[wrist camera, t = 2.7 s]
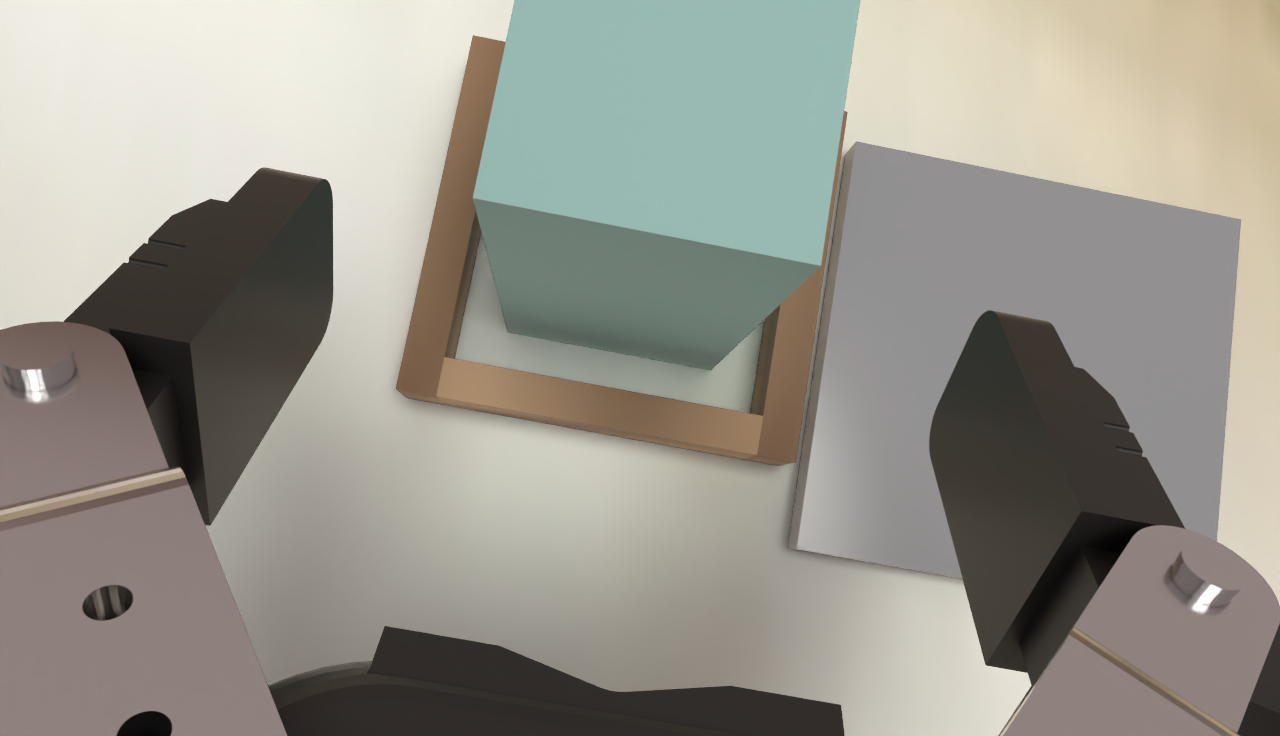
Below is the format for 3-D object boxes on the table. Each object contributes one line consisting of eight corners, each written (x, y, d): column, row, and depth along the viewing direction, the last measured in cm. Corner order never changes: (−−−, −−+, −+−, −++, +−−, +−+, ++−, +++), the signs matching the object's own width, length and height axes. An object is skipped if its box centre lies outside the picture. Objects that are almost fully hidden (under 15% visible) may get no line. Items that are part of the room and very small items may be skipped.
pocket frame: (407, 398, 21) (395, 388, 19) (478, 67, 22) (473, 35, 20) (778, 465, 21) (795, 461, 20) (828, 138, 22) (847, 111, 21)
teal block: (507, 331, 21) (472, 198, 12) (542, 159, 22) (533, -88, 13) (710, 370, 21) (821, 265, 12) (739, 198, 22) (862, -17, 13)
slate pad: (787, 548, 21) (796, 549, 20) (845, 155, 22) (856, 141, 22) (1186, 618, 21) (1210, 622, 21) (1217, 229, 23) (1240, 219, 22)
